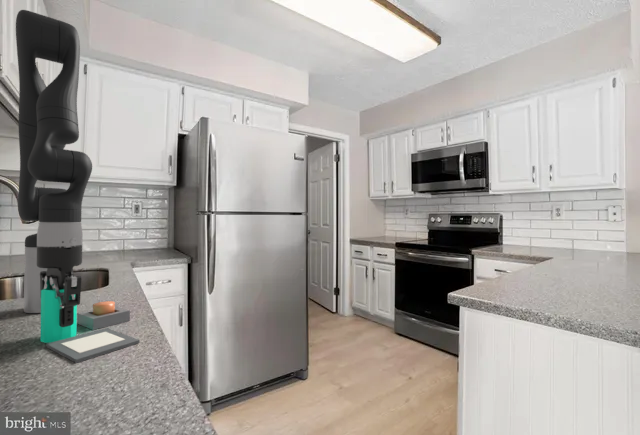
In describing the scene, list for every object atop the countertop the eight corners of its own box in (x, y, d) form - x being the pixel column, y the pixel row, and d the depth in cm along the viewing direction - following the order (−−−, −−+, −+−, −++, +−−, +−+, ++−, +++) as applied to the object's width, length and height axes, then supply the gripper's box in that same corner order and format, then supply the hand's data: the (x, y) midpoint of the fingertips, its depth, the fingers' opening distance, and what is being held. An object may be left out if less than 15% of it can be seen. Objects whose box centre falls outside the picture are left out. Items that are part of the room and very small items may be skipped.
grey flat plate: (46, 346, 63) (46, 343, 63) (107, 330, 73) (107, 327, 73) (76, 363, 56) (76, 358, 56) (139, 342, 66) (139, 339, 66)
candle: (56, 343, 65) (57, 283, 65) (32, 341, 66) (33, 282, 66) (83, 333, 71) (84, 278, 71) (61, 331, 72) (62, 277, 72)
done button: (89, 316, 78) (89, 304, 78) (109, 312, 82) (109, 300, 82) (98, 319, 75) (98, 306, 75) (118, 315, 79) (118, 302, 79)
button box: (77, 323, 77) (77, 313, 77) (112, 315, 84) (113, 305, 84) (93, 330, 73) (93, 318, 73) (129, 320, 80) (129, 310, 80)
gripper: (24, 243, 69) (23, 321, 69) (52, 246, 62) (51, 334, 61) (66, 241, 75) (65, 313, 75) (96, 244, 68) (95, 324, 68)
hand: (59, 322), depth 68 cm, fingers open, 6 cm apart
